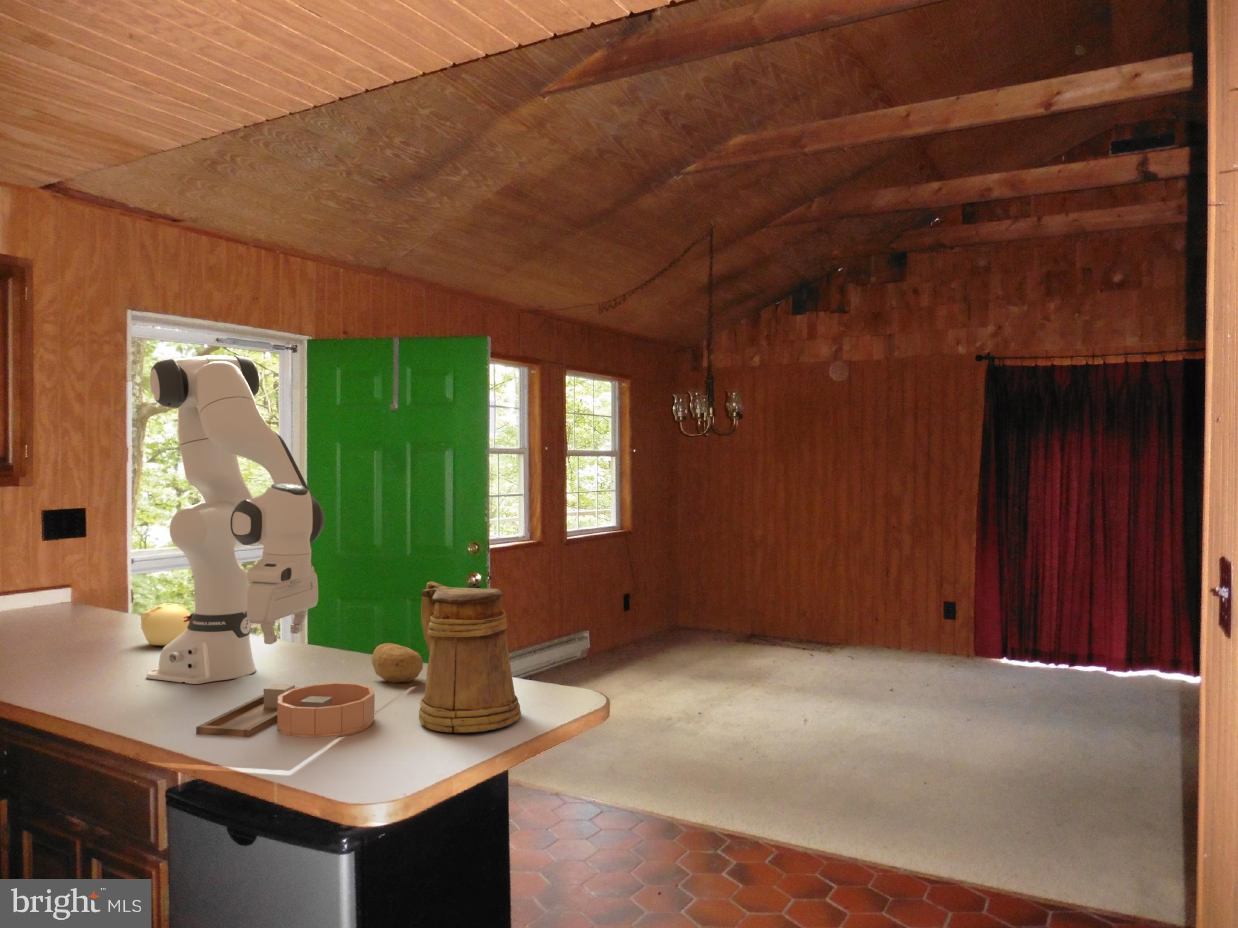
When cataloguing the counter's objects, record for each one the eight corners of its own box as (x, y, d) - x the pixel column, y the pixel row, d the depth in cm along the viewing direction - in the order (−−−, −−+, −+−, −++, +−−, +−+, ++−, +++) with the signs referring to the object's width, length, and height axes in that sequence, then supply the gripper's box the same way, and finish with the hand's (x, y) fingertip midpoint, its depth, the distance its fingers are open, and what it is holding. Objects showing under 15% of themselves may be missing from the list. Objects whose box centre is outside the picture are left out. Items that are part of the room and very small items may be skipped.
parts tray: (196, 737, 144) (196, 726, 144) (278, 695, 170) (278, 686, 170) (249, 740, 143) (249, 729, 143) (323, 697, 168) (323, 688, 168)
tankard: (472, 743, 142) (473, 598, 142) (381, 718, 155) (382, 586, 155) (539, 717, 157) (540, 586, 157) (451, 696, 170) (452, 575, 170)
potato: (395, 692, 173) (395, 654, 173) (361, 680, 182) (361, 644, 182) (435, 683, 180) (435, 647, 180) (400, 672, 189) (400, 637, 189)
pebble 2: (263, 707, 160) (263, 688, 160) (273, 701, 163) (274, 683, 163) (284, 708, 159) (284, 689, 159) (294, 702, 163) (294, 684, 163)
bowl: (258, 737, 144) (258, 705, 144) (307, 709, 161) (307, 680, 161) (347, 742, 142) (348, 710, 142) (388, 713, 158) (388, 684, 158)
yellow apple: (179, 637, 224) (179, 598, 224) (201, 643, 217) (202, 602, 217) (134, 645, 215) (134, 603, 215) (156, 651, 208) (156, 608, 208)
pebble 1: (300, 721, 150) (300, 701, 150) (310, 715, 154) (310, 695, 154) (322, 722, 150) (322, 702, 150) (332, 716, 153) (332, 696, 153)
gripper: (298, 559, 171) (296, 625, 171) (241, 573, 151) (238, 648, 151) (327, 561, 170) (324, 628, 171) (273, 575, 150) (270, 651, 150)
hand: (283, 637), depth 161 cm, fingers open, 8 cm apart
